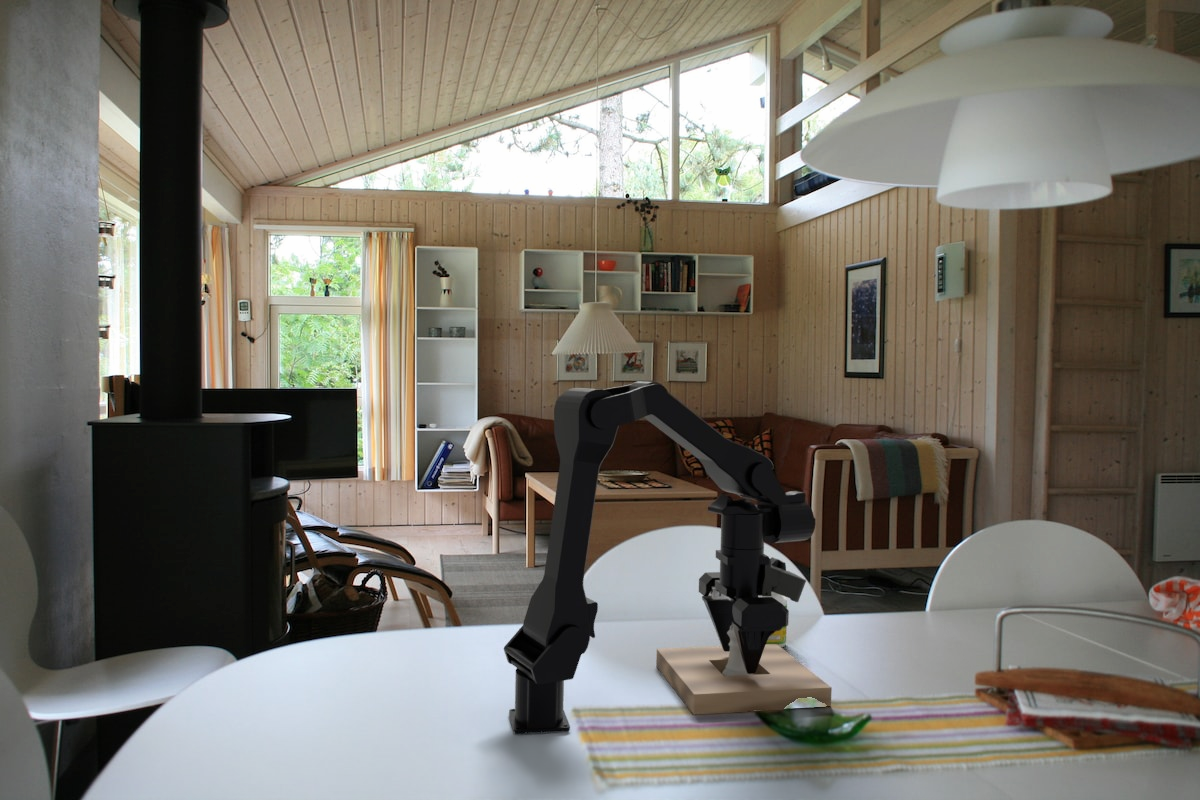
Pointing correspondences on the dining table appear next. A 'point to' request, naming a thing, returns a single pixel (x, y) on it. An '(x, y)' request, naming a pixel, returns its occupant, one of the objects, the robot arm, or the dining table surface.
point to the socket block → (738, 680)
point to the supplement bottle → (780, 636)
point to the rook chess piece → (734, 657)
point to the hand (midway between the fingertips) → (738, 661)
